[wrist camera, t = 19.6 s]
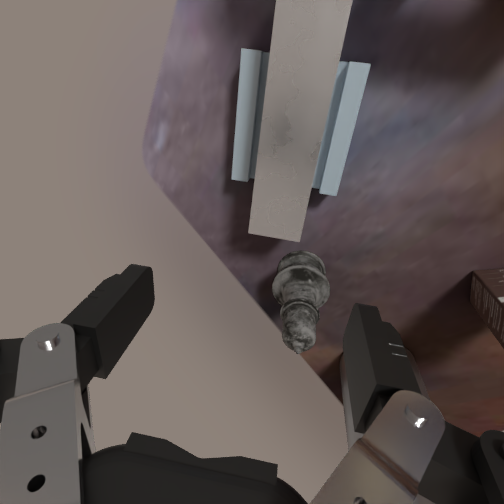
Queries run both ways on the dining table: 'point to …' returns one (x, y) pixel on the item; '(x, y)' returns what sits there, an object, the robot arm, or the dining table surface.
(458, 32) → the dining table surface
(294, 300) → the grey chess piece
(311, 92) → the bar
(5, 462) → the robot arm
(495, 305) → the box
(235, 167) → the tray
